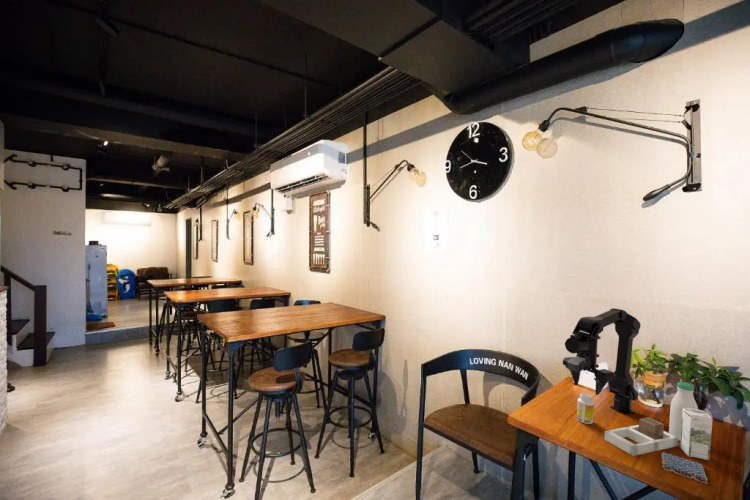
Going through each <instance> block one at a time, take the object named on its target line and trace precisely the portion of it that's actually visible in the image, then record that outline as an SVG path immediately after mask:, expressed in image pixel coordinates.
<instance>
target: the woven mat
mask: <svg viewBox="0 0 750 500" xmlns="http://www.w3.org/2000/svg"><path fill="white" fill-rule="evenodd" d="M660 455H661V459H662V461H661V464H662V465H661V467H662V468H663V470H665V471H666V472H670V473H673V474H676V475H679V476H683V477H685V478H688V479H692V480H695V481H697V482H700V483H703V484H707V485H708V477H707V476H706V475H707V474H706V472H705V469H704V467H703V464H702V463H701V462H699V463H698V461H697V460H696V461H694V460H692V459H690V458H688V459H689V460H688V459H687V458H685V457H684V456H682V457H681V456H678V455H677V454H675V455H674V454H672V453H671V452H670V453H668V452H666V451H663V452H661V454H660ZM698 477H699V478H698Z"/></svg>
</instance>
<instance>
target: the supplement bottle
mask: <svg viewBox="0 0 750 500" xmlns="http://www.w3.org/2000/svg"><path fill="white" fill-rule="evenodd" d="M579 395H580V396H579V398H577V403H576V405H577V408H576V419H577V421H578V422H581V424H587V425H592V424H593V423H594V413H595V402H594V401H593V396H592V395H591V394H589V393H585V392H584V393H580V394H579Z"/></svg>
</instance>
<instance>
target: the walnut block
mask: <svg viewBox="0 0 750 500" xmlns="http://www.w3.org/2000/svg"><path fill="white" fill-rule="evenodd" d="M638 425H639V432H640V433H642V434H644V435H646V436H648V437H650V438H652V439H654V440H658V439H663V431H665V430H664V427H665V424H664V423H662V422H660V421H658V420H656V419H653V418H652V417H642V418H639V419H638Z"/></svg>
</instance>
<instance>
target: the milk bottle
mask: <svg viewBox="0 0 750 500" xmlns="http://www.w3.org/2000/svg"><path fill="white" fill-rule="evenodd" d="M676 386H677V387H676V389H677V391H676V393H675V395H674V396H673V398H672V399H671V403H670V409H669V410H670V411H669V424H668V433H669V434H671V435H674V436H676V437H678V442H680V440H681V425H682V411H683V408H689V409H696V410H699V407H698V403H697V402H696V400H695V397H694V393H695V385H694V384H692V383H688V382H684V381H678V382H677V385H676Z"/></svg>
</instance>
